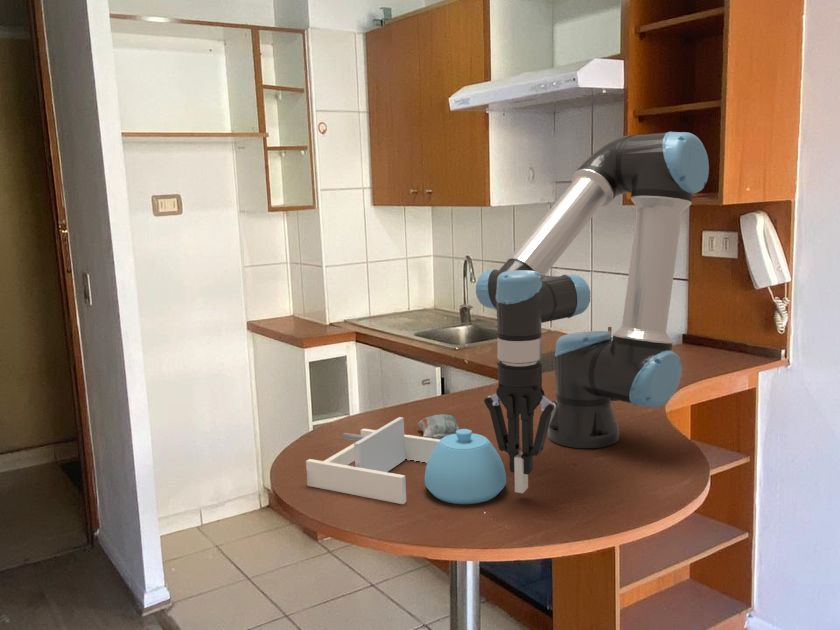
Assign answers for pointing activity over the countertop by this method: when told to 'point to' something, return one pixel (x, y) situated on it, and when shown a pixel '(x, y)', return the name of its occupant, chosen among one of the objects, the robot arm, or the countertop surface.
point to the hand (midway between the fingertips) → (521, 489)
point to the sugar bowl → (465, 469)
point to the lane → (367, 472)
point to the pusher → (380, 447)
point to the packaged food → (438, 426)
